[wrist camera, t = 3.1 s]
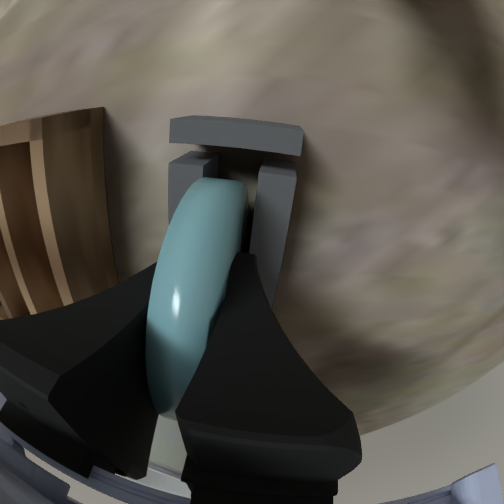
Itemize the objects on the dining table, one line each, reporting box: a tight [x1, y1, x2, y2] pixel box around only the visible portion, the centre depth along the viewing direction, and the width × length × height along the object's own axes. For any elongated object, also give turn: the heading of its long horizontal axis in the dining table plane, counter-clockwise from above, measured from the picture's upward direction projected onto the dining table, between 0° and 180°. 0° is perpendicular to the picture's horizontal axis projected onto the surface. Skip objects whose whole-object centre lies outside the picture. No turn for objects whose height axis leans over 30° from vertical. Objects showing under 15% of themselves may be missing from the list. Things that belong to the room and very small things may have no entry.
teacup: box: [123, 414, 191, 498], centre depth 19 cm, size 14×11×8 cm
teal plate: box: [145, 177, 248, 421], centre depth 9 cm, size 8×1×8 cm, turn 174°
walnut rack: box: [0, 107, 119, 320], centre depth 12 cm, size 13×12×4 cm
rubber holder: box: [168, 116, 304, 309], centre depth 11 cm, size 10×4×2 cm, turn 174°
